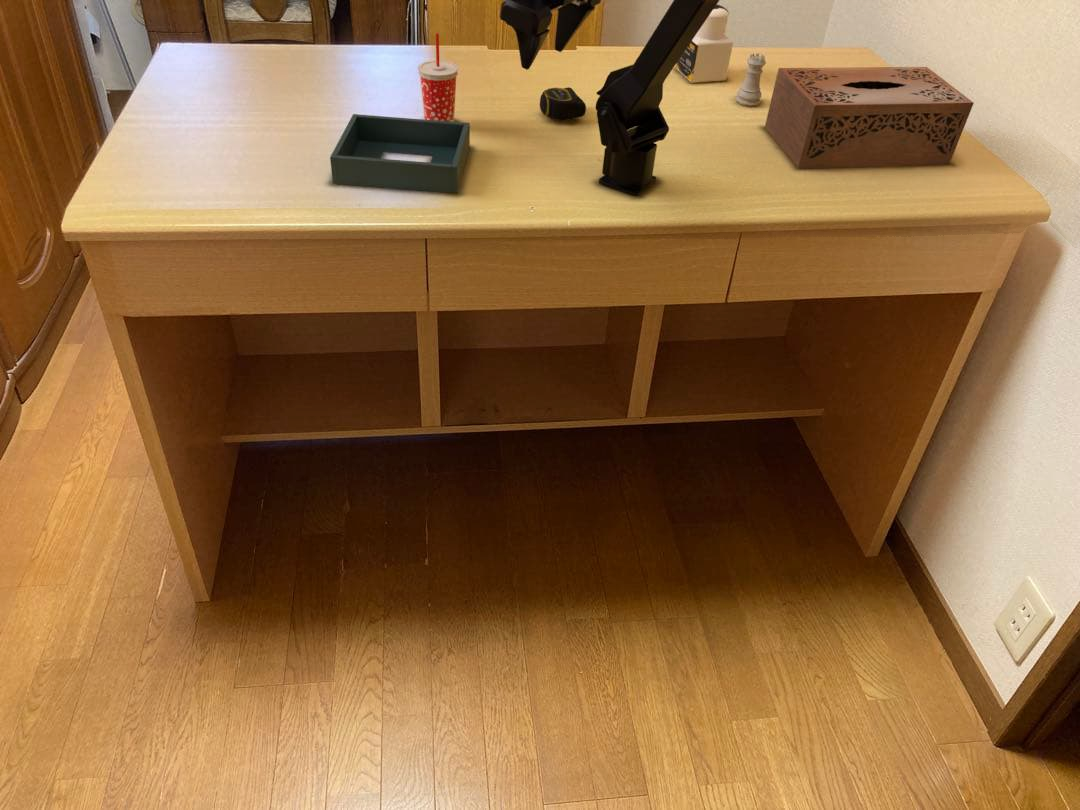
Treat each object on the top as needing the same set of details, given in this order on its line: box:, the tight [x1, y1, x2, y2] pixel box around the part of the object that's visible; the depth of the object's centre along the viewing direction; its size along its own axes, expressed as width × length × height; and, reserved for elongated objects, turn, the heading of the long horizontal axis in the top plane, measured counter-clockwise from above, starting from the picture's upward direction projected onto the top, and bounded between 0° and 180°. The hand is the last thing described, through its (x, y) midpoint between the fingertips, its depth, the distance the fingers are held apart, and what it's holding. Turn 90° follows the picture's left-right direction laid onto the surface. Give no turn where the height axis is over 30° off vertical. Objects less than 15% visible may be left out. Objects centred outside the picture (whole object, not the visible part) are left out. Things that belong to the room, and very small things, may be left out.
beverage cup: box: [417, 32, 459, 122], centre depth 134 cm, size 6×6×14 cm
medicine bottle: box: [675, 3, 734, 84], centre depth 156 cm, size 7×7×12 cm
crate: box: [329, 113, 471, 194], centre depth 126 cm, size 18×15×4 cm
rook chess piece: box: [735, 53, 767, 107], centre depth 149 cm, size 4×4×8 cm
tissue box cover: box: [764, 66, 975, 170], centre depth 137 cm, size 26×14×10 cm, turn 100°
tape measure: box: [539, 86, 587, 121], centre depth 142 cm, size 7×7×4 cm
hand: (542, 59), depth 128 cm, fingers open, 9 cm apart
